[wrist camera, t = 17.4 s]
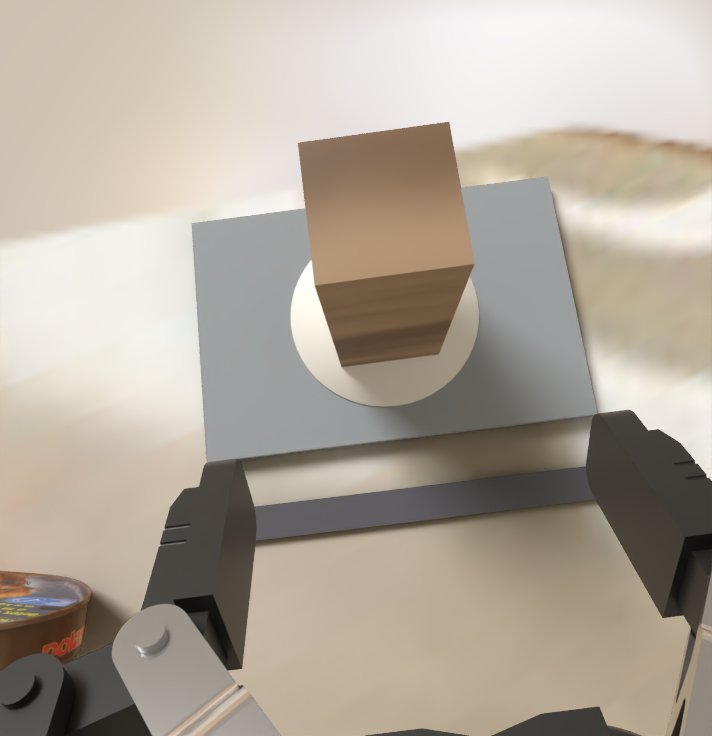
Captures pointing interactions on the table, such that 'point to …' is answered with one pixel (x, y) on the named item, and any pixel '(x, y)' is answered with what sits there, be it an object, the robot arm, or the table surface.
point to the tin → (41, 616)
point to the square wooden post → (386, 240)
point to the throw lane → (390, 378)
